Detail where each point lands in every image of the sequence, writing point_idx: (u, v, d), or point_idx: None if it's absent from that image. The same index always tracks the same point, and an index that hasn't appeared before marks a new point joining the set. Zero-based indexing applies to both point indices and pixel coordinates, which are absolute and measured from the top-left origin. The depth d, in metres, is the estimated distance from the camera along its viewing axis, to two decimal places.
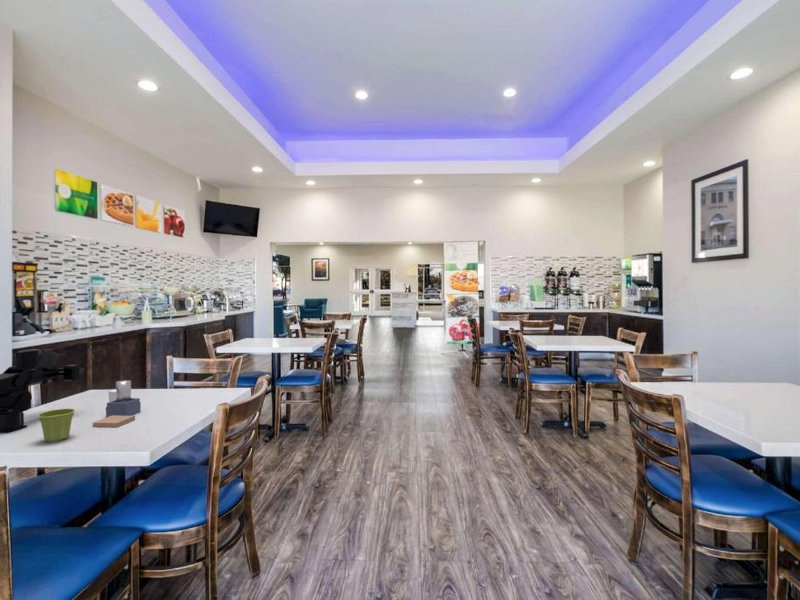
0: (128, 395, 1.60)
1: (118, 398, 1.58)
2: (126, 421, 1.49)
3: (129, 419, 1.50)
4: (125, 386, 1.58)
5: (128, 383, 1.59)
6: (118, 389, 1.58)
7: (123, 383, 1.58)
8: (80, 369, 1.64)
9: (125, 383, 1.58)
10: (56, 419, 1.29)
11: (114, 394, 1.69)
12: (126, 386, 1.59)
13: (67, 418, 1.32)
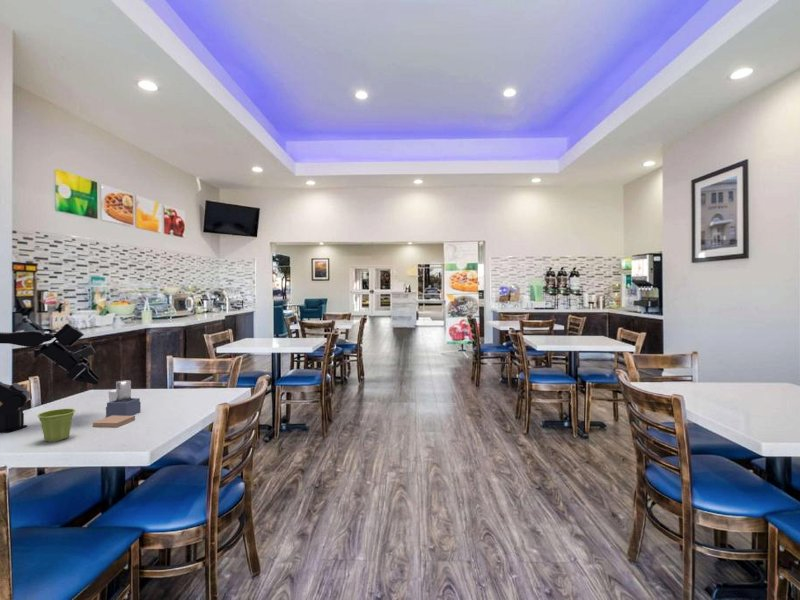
0: (128, 395, 1.60)
1: (118, 398, 1.58)
2: (126, 421, 1.49)
3: (129, 419, 1.50)
4: (125, 386, 1.58)
5: (128, 383, 1.59)
6: (118, 389, 1.58)
7: (123, 383, 1.58)
8: (92, 378, 1.50)
9: (125, 383, 1.58)
10: (56, 419, 1.29)
11: (114, 394, 1.69)
12: (126, 386, 1.59)
13: (67, 418, 1.32)
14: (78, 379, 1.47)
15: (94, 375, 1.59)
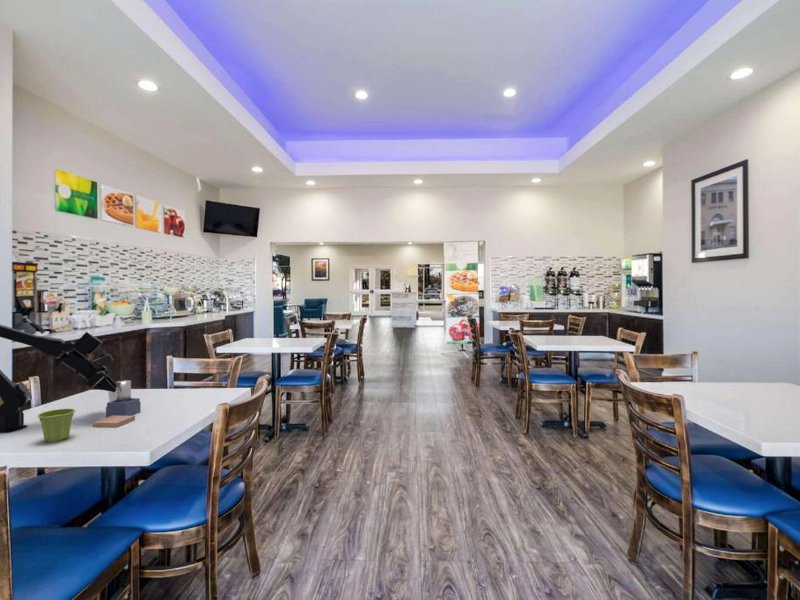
0: (128, 395, 1.60)
1: (118, 398, 1.58)
2: (126, 421, 1.49)
3: (129, 419, 1.50)
4: (125, 386, 1.58)
5: (128, 383, 1.59)
6: (118, 389, 1.58)
7: (123, 383, 1.58)
8: (110, 386, 1.53)
9: (125, 383, 1.58)
10: (56, 419, 1.29)
11: (114, 394, 1.69)
12: (126, 386, 1.59)
13: (67, 418, 1.32)
14: (97, 387, 1.50)
15: (112, 382, 1.62)
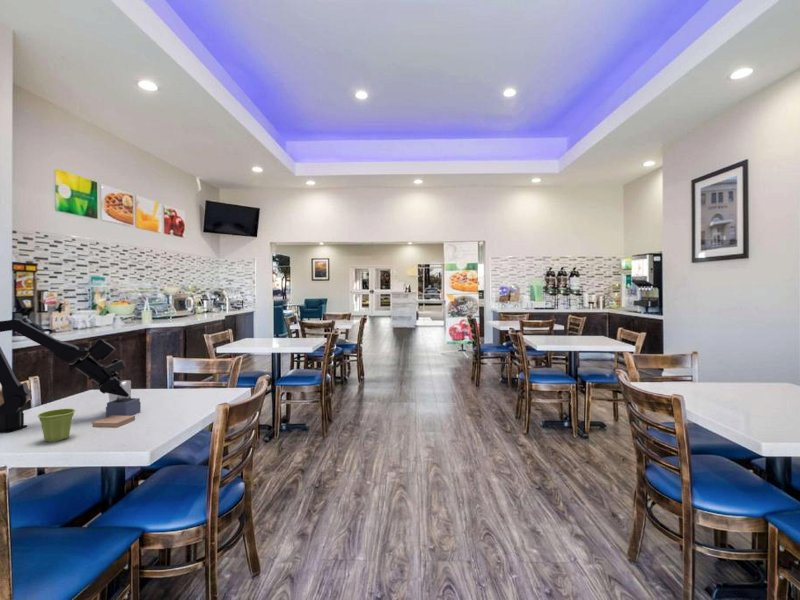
0: None
1: (118, 398, 1.58)
2: (126, 421, 1.49)
3: (129, 419, 1.50)
4: (125, 386, 1.58)
5: (128, 383, 1.59)
6: None
7: (123, 383, 1.58)
8: (123, 391, 1.57)
9: (125, 383, 1.58)
10: (56, 419, 1.29)
11: (114, 394, 1.69)
12: (126, 386, 1.59)
13: (67, 418, 1.32)
14: (110, 392, 1.54)
15: None
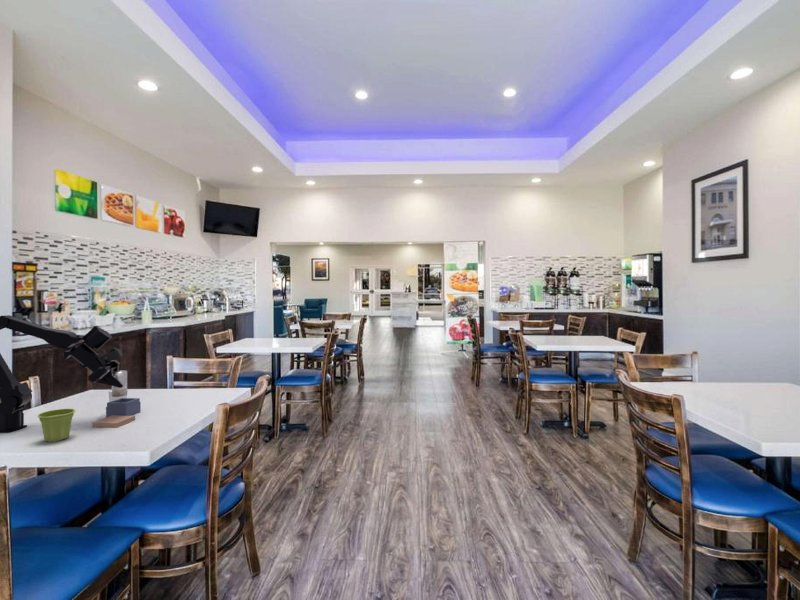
0: (123, 386, 1.52)
1: (113, 389, 1.51)
2: (126, 421, 1.49)
3: (129, 419, 1.50)
4: (119, 376, 1.51)
5: (123, 373, 1.52)
6: None
7: (117, 373, 1.51)
8: (116, 382, 1.50)
9: (119, 373, 1.51)
10: (56, 419, 1.29)
11: None
12: (121, 376, 1.52)
13: (67, 418, 1.32)
14: (102, 382, 1.47)
15: None
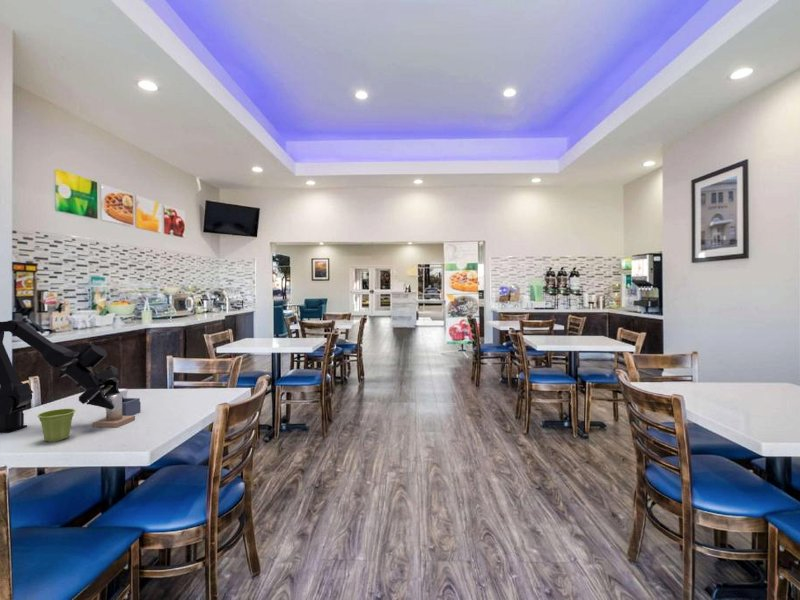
0: (117, 410, 1.47)
1: (106, 412, 1.47)
2: (126, 421, 1.49)
3: (129, 419, 1.50)
4: (113, 400, 1.47)
5: (117, 397, 1.47)
6: None
7: (111, 397, 1.46)
8: (107, 403, 1.43)
9: (113, 397, 1.47)
10: (56, 419, 1.29)
11: None
12: (114, 400, 1.47)
13: (67, 418, 1.32)
14: (92, 403, 1.41)
15: None
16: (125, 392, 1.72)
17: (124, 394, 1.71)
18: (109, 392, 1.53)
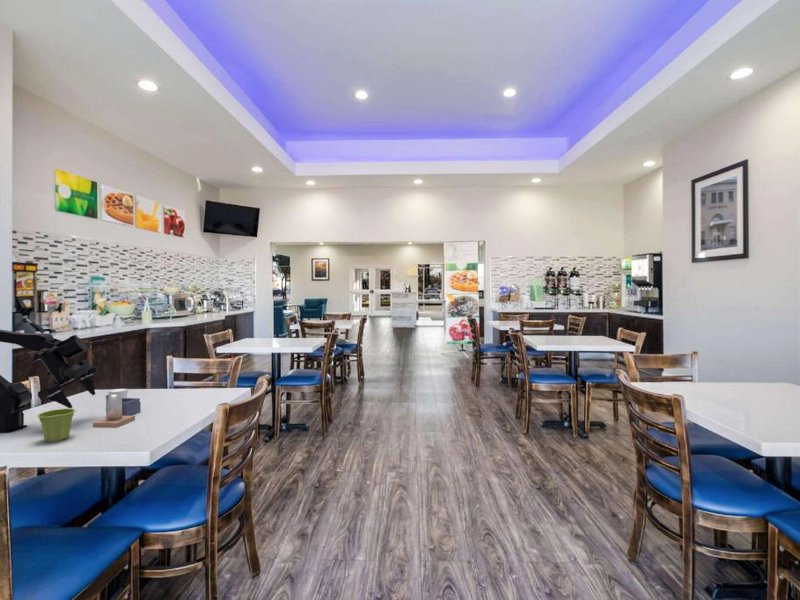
0: (117, 410, 1.47)
1: (106, 412, 1.47)
2: (126, 421, 1.49)
3: (129, 419, 1.50)
4: (113, 400, 1.47)
5: (116, 397, 1.47)
6: (106, 403, 1.47)
7: (110, 397, 1.46)
8: (65, 402, 1.43)
9: (113, 397, 1.47)
10: (56, 419, 1.29)
11: None
12: (114, 400, 1.47)
13: (67, 418, 1.32)
14: (52, 399, 1.42)
15: (91, 389, 1.52)
16: (125, 392, 1.72)
17: (124, 394, 1.71)
18: (84, 381, 1.52)
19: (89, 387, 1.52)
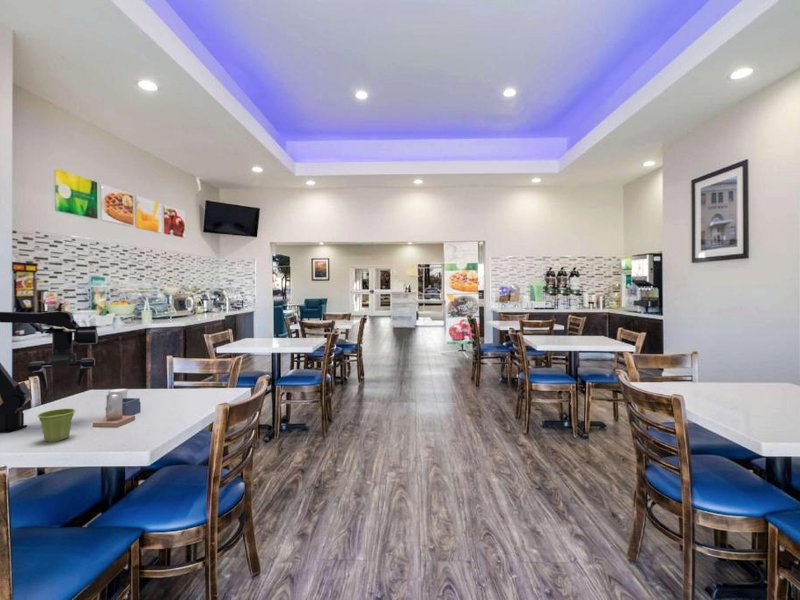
0: (117, 410, 1.47)
1: (107, 412, 1.47)
2: (126, 421, 1.49)
3: (129, 419, 1.50)
4: (113, 400, 1.47)
5: (117, 397, 1.47)
6: (107, 403, 1.47)
7: (111, 397, 1.46)
8: (42, 382, 1.45)
9: (113, 397, 1.47)
10: (56, 419, 1.29)
11: None
12: (114, 400, 1.47)
13: (67, 418, 1.32)
14: None
15: (78, 380, 1.51)
16: (125, 392, 1.72)
17: (124, 394, 1.71)
18: None
19: None
